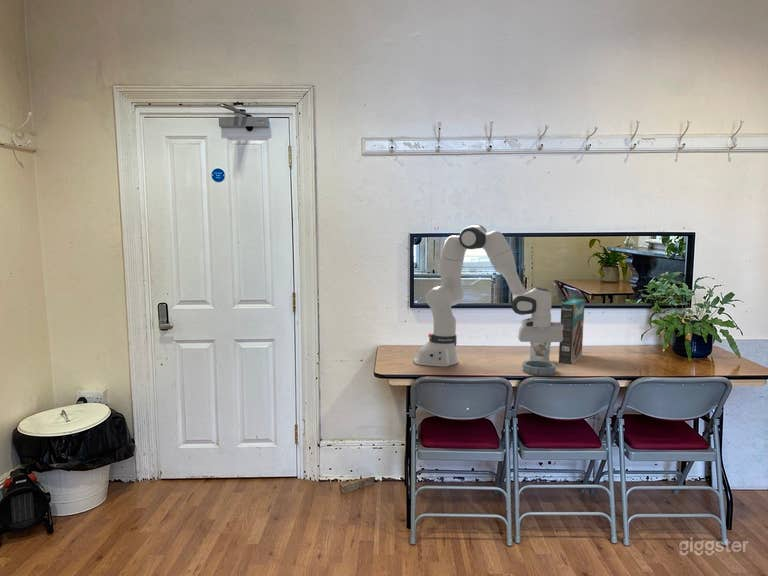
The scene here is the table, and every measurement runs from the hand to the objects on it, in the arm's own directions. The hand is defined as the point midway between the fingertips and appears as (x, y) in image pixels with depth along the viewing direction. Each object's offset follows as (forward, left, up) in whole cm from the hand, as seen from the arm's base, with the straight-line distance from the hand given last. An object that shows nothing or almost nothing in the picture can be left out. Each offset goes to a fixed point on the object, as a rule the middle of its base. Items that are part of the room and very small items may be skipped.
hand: (540, 350), depth 251 cm
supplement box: (+5, +20, -10) cm, 23 cm away
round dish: (0, 0, -10) cm, 10 cm away
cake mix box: (+22, +25, -10) cm, 35 cm away
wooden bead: (0, 0, -2) cm, 2 cm away
